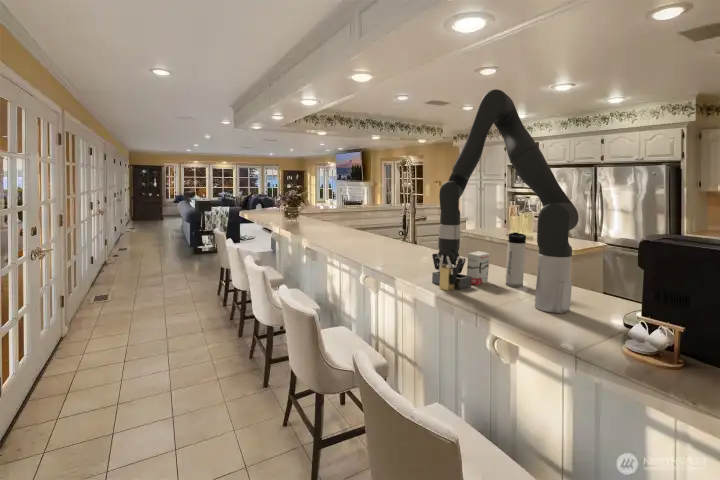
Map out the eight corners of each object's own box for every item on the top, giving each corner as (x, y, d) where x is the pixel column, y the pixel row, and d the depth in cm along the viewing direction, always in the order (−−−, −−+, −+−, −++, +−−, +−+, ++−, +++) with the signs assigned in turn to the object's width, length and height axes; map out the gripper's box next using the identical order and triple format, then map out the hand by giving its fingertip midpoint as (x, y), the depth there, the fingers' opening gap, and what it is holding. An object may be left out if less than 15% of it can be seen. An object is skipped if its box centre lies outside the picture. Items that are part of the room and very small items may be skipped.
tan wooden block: (454, 289, 151) (455, 267, 150) (447, 290, 148) (448, 269, 147) (446, 286, 154) (447, 266, 153) (439, 288, 152) (440, 267, 150)
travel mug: (519, 283, 161) (523, 232, 158) (524, 287, 154) (528, 234, 152) (503, 282, 162) (506, 232, 159) (507, 287, 155) (511, 234, 152)
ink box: (477, 285, 157) (478, 255, 155) (465, 283, 160) (467, 253, 158) (488, 282, 163) (490, 252, 161) (477, 279, 166) (478, 250, 164)
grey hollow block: (470, 286, 155) (471, 276, 154) (459, 289, 150) (459, 279, 150) (443, 280, 165) (444, 270, 164) (432, 282, 160) (432, 272, 160)
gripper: (472, 238, 145) (469, 285, 148) (440, 233, 156) (438, 278, 159) (458, 240, 141) (456, 288, 143) (427, 235, 152) (425, 280, 154)
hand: (447, 282), depth 151 cm, fingers closed on tan wooden block, 4 cm apart
